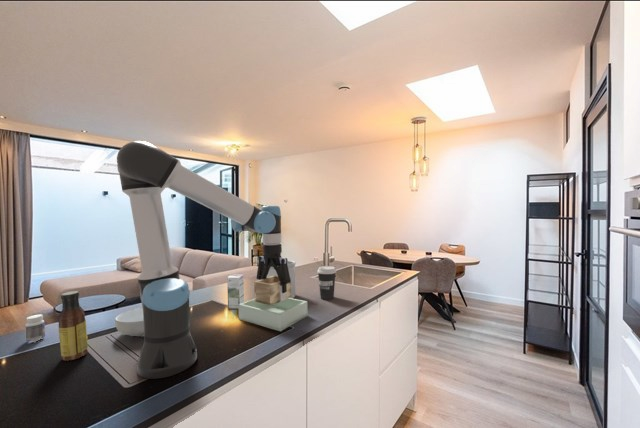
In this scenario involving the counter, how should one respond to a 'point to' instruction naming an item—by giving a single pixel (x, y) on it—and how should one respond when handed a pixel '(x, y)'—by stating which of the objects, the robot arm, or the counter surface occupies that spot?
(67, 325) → the sauce bottle
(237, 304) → the syrup box
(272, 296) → the small wooden crate
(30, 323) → the pill bottle
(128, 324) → the cereal bowl
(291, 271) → the utensil holder
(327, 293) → the coffee cup
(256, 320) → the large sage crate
